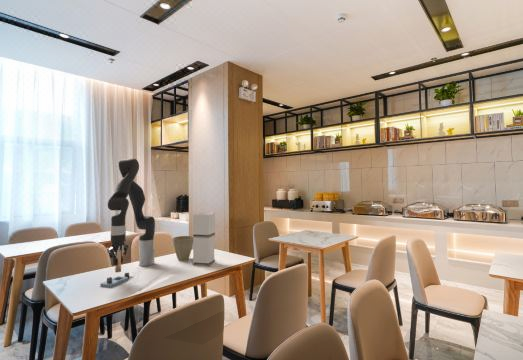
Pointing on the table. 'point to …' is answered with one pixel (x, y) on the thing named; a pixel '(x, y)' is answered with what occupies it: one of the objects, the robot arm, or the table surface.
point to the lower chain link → (127, 276)
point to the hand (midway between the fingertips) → (118, 264)
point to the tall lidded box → (203, 239)
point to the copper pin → (118, 267)
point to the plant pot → (183, 247)
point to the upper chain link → (113, 281)
